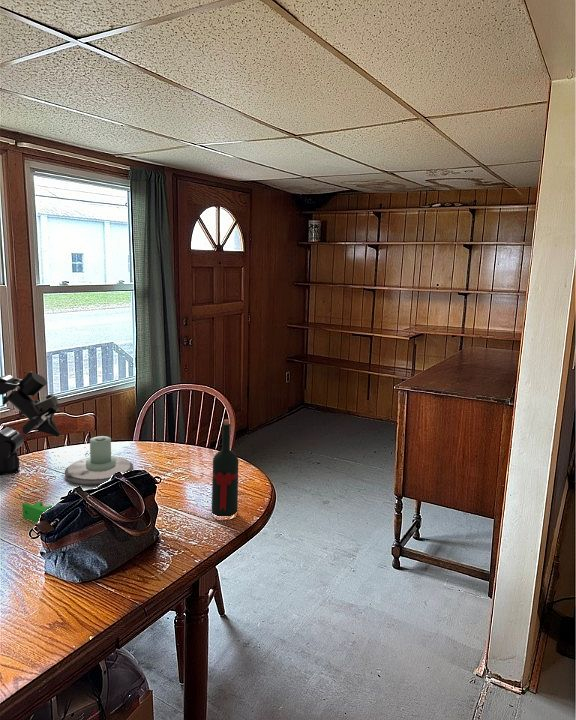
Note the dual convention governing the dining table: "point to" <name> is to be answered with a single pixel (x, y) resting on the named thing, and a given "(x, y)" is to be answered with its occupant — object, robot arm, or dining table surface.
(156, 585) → the dining table surface
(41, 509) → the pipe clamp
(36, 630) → the dining table surface
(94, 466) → the sage green cylinder
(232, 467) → the wine bottle
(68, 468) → the turntable
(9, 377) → the robot arm
